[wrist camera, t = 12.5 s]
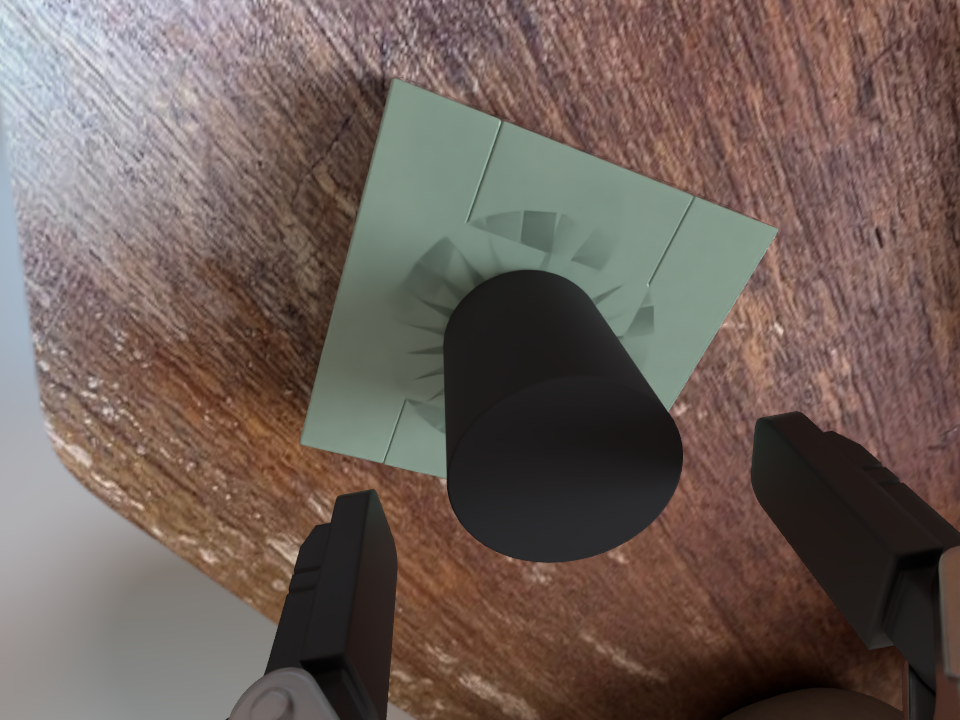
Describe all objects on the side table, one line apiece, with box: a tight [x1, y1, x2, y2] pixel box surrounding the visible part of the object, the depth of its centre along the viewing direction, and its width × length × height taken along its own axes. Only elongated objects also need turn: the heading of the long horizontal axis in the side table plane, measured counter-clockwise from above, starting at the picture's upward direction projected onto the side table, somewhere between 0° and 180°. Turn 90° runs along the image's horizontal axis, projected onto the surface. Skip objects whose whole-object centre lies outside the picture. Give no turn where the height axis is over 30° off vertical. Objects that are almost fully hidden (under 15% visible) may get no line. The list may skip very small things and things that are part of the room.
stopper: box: [443, 270, 683, 563], centre depth 16 cm, size 5×5×9 cm
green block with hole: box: [299, 77, 778, 479], centre depth 19 cm, size 12×12×3 cm
